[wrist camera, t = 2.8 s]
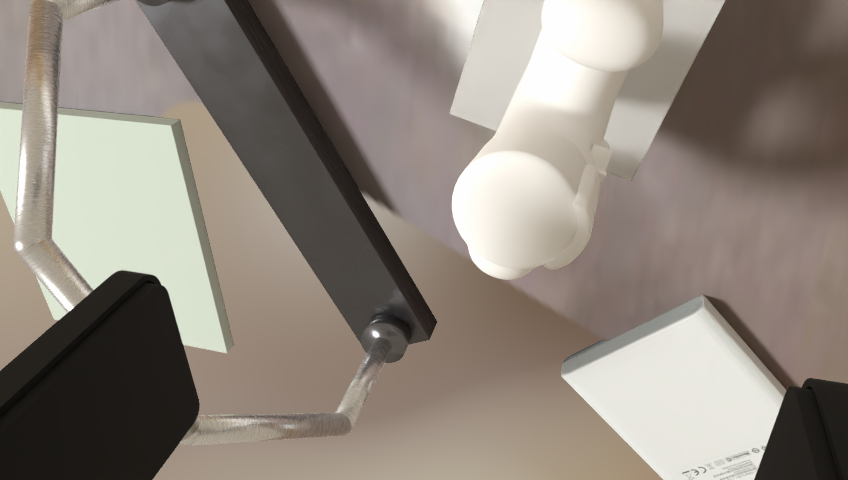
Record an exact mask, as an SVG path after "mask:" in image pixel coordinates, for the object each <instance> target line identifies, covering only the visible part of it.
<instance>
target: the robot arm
mask: <svg viewBox="0 0 848 480" xmlns="http://www.w3.org/2000/svg"><path fill="white" fill-rule="evenodd" d="M198 412H199V399H198V396H197V392H196V388H195V385H194V381H193V378H192V374H191V371H190V368H189V364H188V360H187V357H186V354H185V350H184V346H183V343H182V339H181V336H180V332H179V329H178V325H177V322H176V318H175V315H174V311H173V308H172V304H171V301H170V297H169V293H168V291H167V289H166V288H165V287H164V286H162V285H161V283H160V281H159V279H158V278H157V277H156V276H154V275H151V274H145V273H138V272H132V271H125V270H121V271H117V272H115V273H114V274H112V275H111V276H110V277H108V278H107V279H106V280H105V281H104V282H103V283H101V284H100V285H99V286H98V287H97V288H96V289H95V290H93V291H92V292H91V293H90V294H89V295H88V296H86V297H85V298H84V299H83V300H82V301H81V302H79V303H78V304H77V305H76V306H75V307H74V308H73V309H71V310H70V311H69V312H68V313H67V314H66V315H64V316H63V317H62V318H61V319H60V320H59V321H57V322H56V323H55V324H54V325H53V326H52V327H51V328H49V329H48V330H47V331H46V332H45V333H44V334H42V335H41V336H40V337H39V338H38V339H37V340H36V341H34V342H33V343H32V344H31V345H30V346H29V347H27V348H26V349H25V350H24V351H23V352H22V353H20V354H19V355H18V356H17V357H16V358H15V359H13V360H12V361H11V362H10V363H9V364H8V365H7V366H5V367H4V368H3V369H2V370H1V371H0V480H152V479H153V478H154V477H155V475H156V474H157V473H158V471H159V470H160V468H161V467H162V466H163V464H164V463H165V462H166V460H167V459H168V458H169V456H170V455H171V454H172V452H173V451H174V450H175V448H176V447H177V446H178V444H179V443H180V442H181V440H182V439H183V437H184V436H185V435H186V433H187V432H188V431H189V429H190V428H191V427H192V425H193V424H194V422H195V421H196V418H197V416H198ZM754 480H848V384H845V383H839V382H832V381H826V380H819V379H813V378H808V379H807V380H806V381H805V382H804V384H803V386H802V388H799V387H789V388H788V389H787V391H786V393H785V396H784V398H783V401H782V404H781V407H780V409H779V412H778V415H777V418H776V421H775V423H774V426H773V429H772V432H771V434H770V437H769V440H768V443H767V445H766V448H765V451H764V454H763V457H762V459H761V462H760V465H759V468H758V470H757V473H756V476H755V479H754Z"/></svg>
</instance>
